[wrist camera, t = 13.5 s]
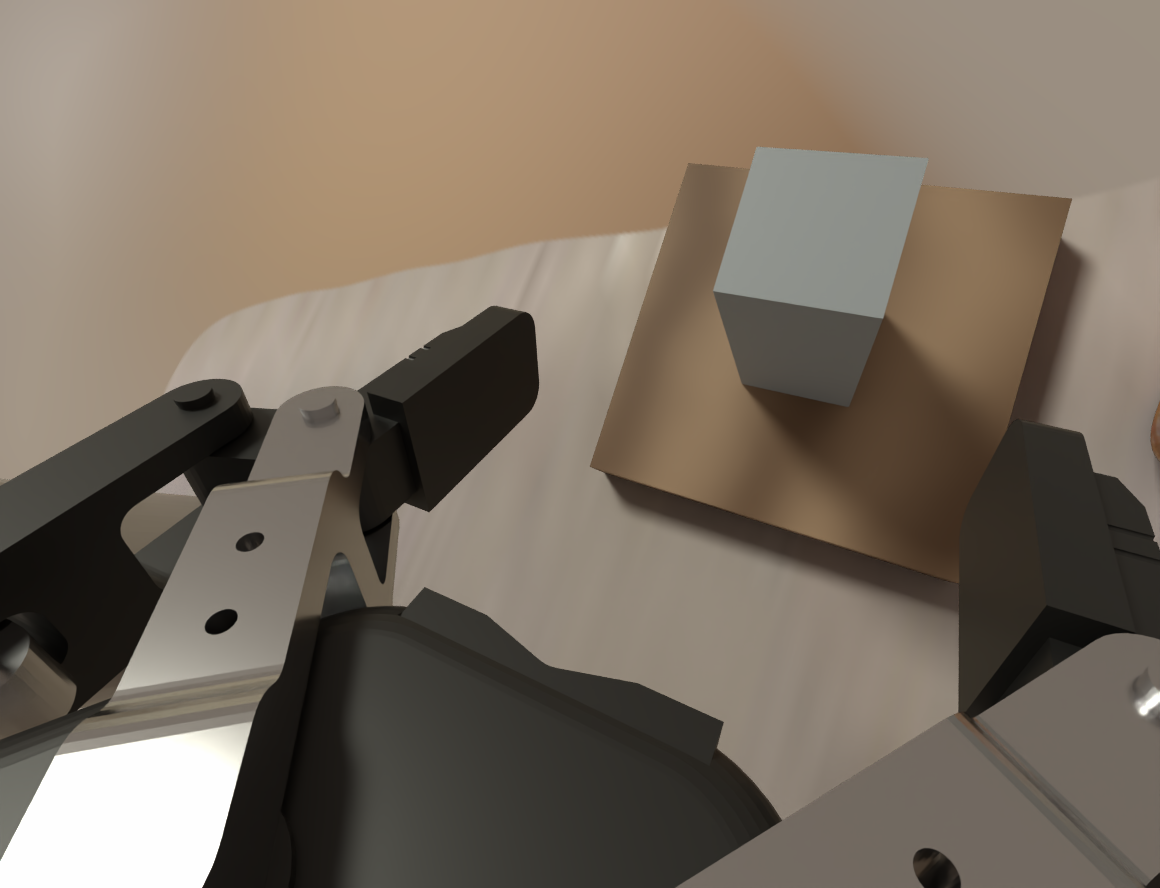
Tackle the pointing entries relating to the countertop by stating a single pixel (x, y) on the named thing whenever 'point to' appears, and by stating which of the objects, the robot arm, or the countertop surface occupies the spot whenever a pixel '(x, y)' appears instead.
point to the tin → (1156, 434)
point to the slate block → (814, 266)
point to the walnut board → (882, 397)
